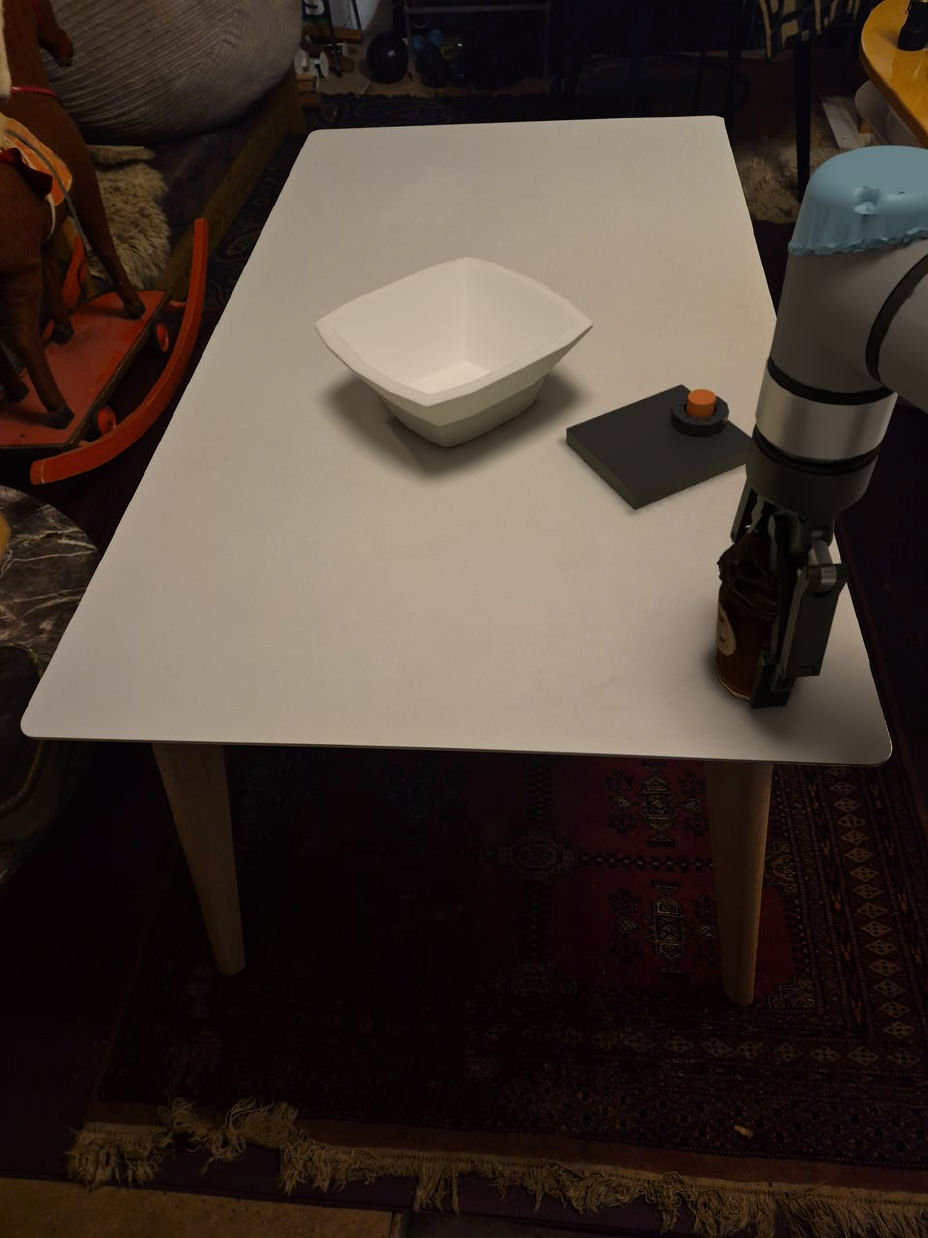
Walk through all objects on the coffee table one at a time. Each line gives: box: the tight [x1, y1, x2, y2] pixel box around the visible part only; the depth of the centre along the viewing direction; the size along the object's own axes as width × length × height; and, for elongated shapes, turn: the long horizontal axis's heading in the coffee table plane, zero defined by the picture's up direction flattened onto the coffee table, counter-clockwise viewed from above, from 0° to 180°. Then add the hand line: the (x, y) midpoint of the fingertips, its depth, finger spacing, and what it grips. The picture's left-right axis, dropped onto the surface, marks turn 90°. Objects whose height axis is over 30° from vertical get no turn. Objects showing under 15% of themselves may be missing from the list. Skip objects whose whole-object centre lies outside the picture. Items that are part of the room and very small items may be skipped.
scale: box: [565, 384, 752, 510], centre depth 89 cm, size 15×13×4 cm
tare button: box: [686, 388, 717, 418], centre depth 89 cm, size 3×3×2 cm
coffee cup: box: [714, 530, 809, 701], centre depth 66 cm, size 9×8×13 cm
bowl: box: [313, 255, 594, 448], centre depth 96 cm, size 24×25×10 cm
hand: (753, 662), depth 70 cm, fingers closed on coffee cup, 8 cm apart
